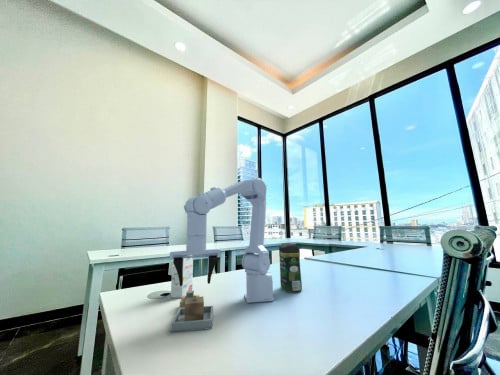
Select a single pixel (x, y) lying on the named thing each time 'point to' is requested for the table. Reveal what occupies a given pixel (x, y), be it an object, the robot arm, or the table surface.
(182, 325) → the tray
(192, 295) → the gray metal block
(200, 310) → the walnut block
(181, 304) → the wooden square frame
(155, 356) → the table surface
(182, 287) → the ink cartridge box
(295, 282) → the coffee jar
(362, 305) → the table surface
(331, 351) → the table surface
